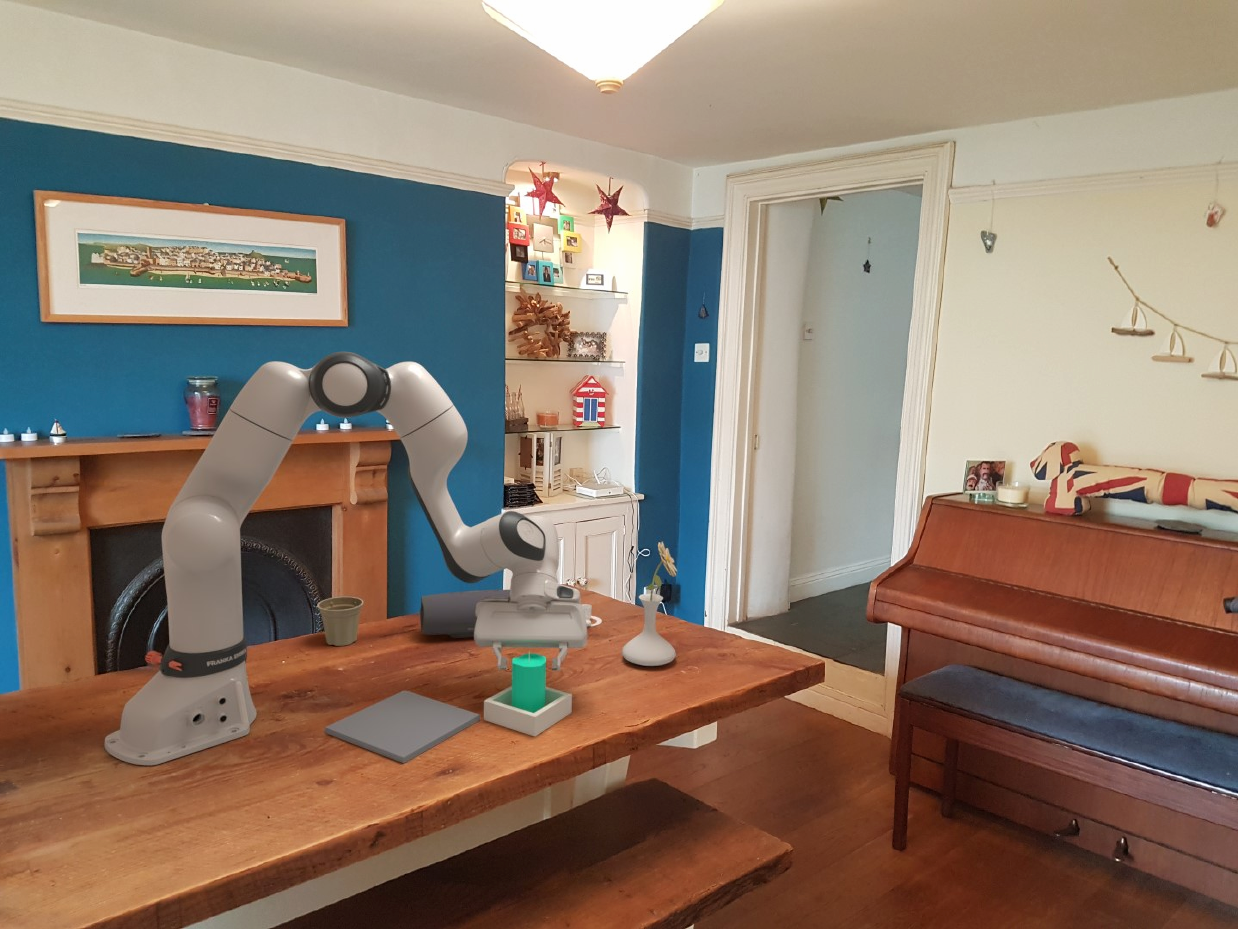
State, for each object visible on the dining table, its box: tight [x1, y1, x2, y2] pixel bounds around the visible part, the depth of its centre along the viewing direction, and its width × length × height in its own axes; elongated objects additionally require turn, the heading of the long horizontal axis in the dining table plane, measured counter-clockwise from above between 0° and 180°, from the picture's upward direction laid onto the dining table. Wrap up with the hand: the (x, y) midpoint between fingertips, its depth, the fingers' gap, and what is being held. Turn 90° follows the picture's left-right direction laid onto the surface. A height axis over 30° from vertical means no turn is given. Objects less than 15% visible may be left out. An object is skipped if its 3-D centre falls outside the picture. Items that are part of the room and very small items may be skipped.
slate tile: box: [324, 689, 481, 764], centre depth 139 cm, size 18×18×1 cm
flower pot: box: [316, 596, 364, 647], centre depth 176 cm, size 9×9×9 cm
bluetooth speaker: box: [419, 589, 510, 639], centre depth 183 cm, size 23×9×10 cm, turn 108°
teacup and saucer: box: [581, 603, 603, 628], centre depth 195 cm, size 9×8×4 cm
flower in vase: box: [621, 541, 678, 667], centre depth 171 cm, size 13×11×25 cm
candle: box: [511, 650, 547, 713], centre depth 143 cm, size 6×6×12 cm
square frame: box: [483, 685, 573, 737], centre depth 144 cm, size 11×11×4 cm
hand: (529, 669), depth 143 cm, fingers open, 8 cm apart
